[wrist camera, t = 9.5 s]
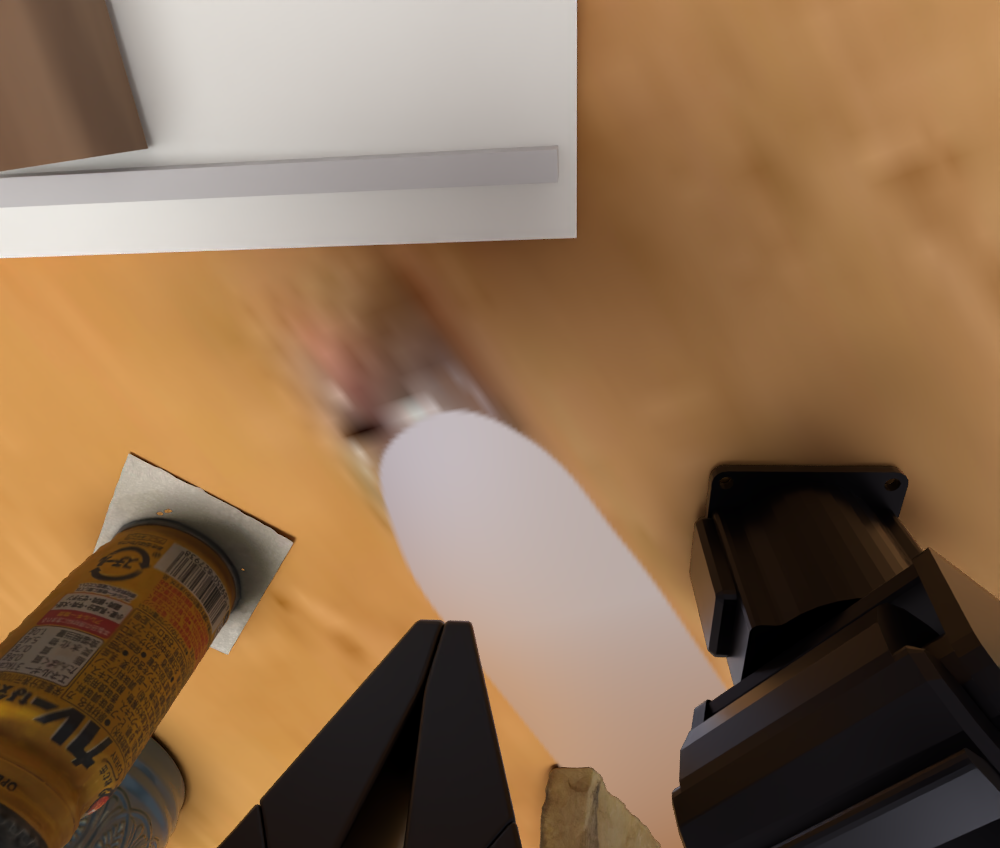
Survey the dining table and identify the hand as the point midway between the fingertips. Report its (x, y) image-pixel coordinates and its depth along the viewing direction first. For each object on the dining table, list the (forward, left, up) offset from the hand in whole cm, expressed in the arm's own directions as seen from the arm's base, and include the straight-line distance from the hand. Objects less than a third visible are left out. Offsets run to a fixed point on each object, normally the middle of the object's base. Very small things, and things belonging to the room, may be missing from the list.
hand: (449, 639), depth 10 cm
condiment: (+15, +10, -13) cm, 22 cm away
